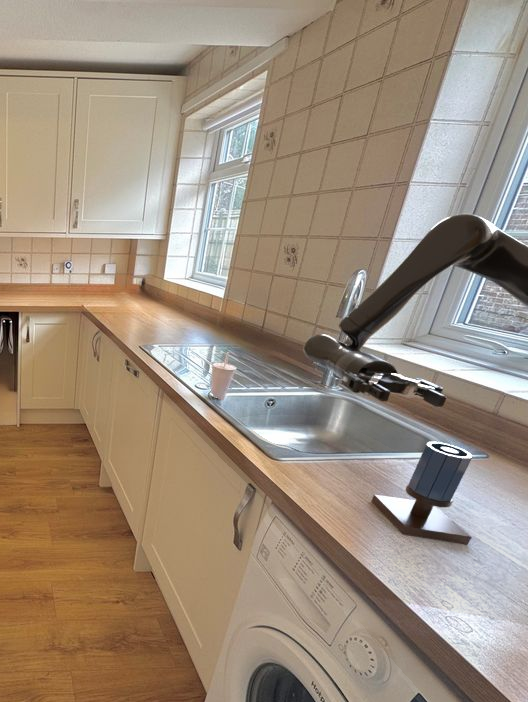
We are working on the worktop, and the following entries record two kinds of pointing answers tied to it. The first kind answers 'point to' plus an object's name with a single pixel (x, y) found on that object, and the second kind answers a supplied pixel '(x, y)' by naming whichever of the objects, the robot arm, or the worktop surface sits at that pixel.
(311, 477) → the worktop surface
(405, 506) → the stand
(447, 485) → the blue hollow faceted cylinder
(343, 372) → the robot arm
